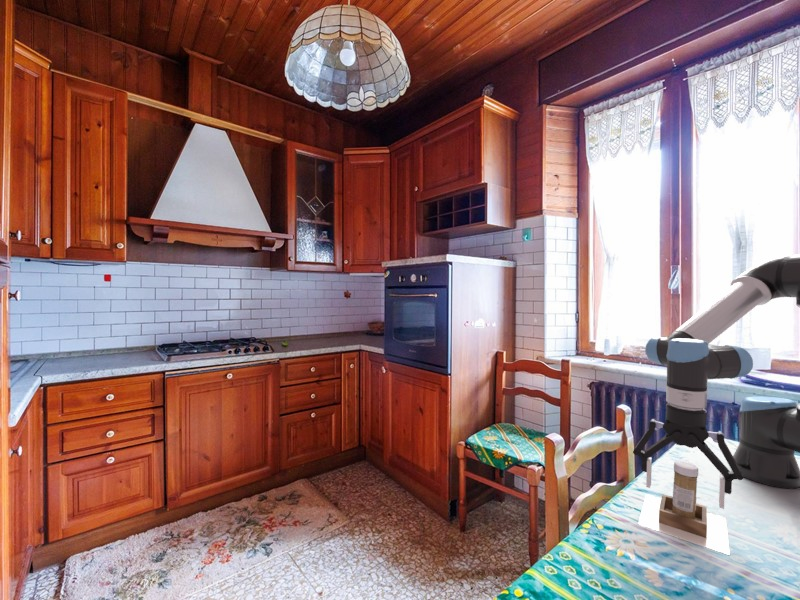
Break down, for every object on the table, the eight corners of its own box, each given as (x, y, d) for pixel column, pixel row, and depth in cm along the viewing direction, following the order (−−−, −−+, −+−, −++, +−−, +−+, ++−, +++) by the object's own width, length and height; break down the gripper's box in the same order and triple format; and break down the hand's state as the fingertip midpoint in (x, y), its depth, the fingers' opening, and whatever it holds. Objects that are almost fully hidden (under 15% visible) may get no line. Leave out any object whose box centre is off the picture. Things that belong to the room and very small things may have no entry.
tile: (726, 521, 89) (726, 517, 89) (729, 560, 77) (729, 555, 77) (646, 497, 99) (646, 494, 99) (638, 528, 87) (638, 524, 87)
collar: (706, 519, 89) (706, 506, 88) (706, 538, 82) (706, 524, 82) (662, 505, 94) (662, 494, 94) (658, 522, 87) (659, 510, 87)
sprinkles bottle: (698, 522, 87) (701, 466, 87) (690, 529, 85) (694, 470, 84) (675, 512, 91) (678, 458, 91) (667, 518, 89) (670, 462, 88)
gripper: (621, 399, 92) (619, 483, 93) (762, 422, 76) (758, 524, 77) (626, 392, 98) (624, 472, 99) (757, 412, 82) (754, 507, 83)
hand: (683, 495), depth 88 cm, fingers open, 13 cm apart
